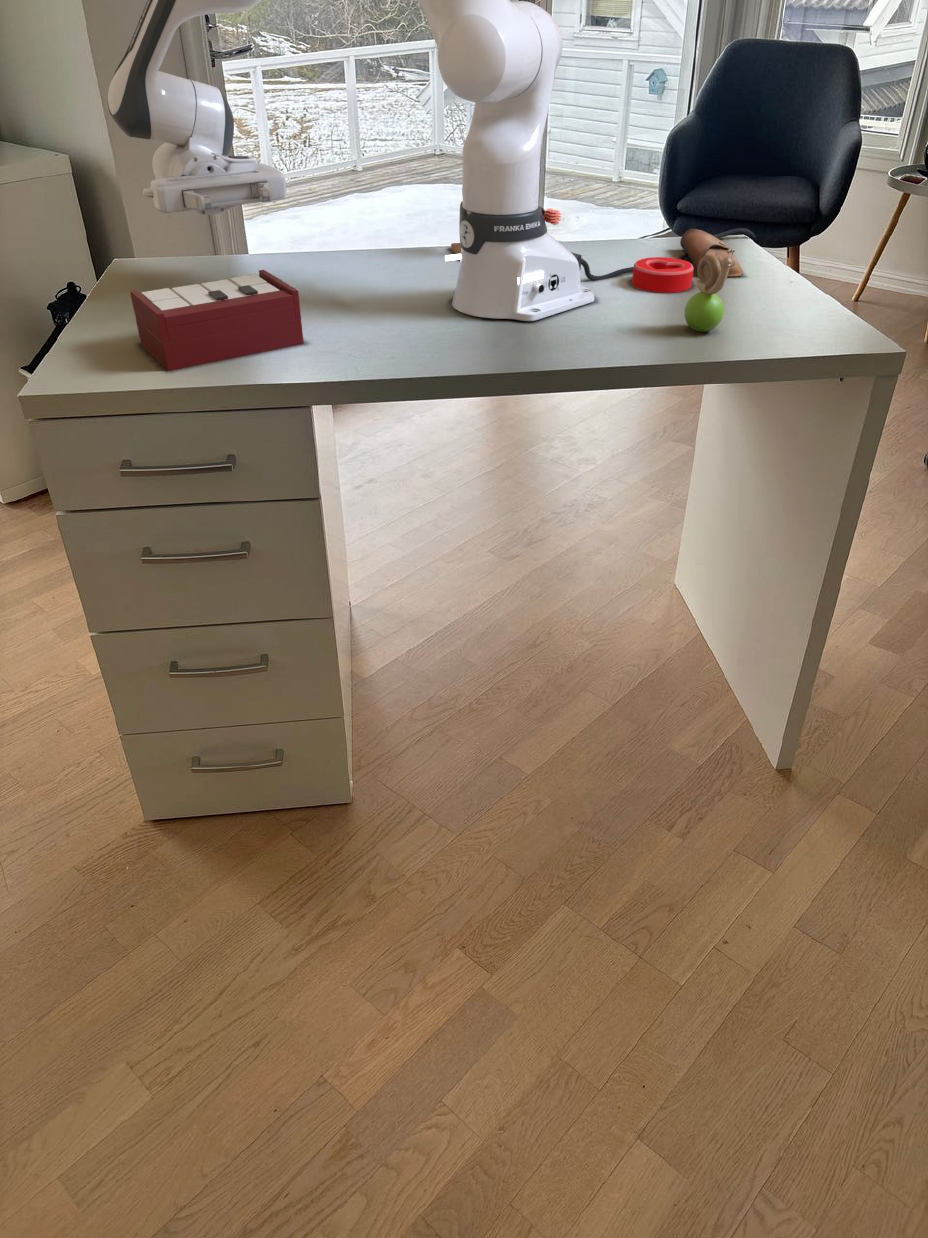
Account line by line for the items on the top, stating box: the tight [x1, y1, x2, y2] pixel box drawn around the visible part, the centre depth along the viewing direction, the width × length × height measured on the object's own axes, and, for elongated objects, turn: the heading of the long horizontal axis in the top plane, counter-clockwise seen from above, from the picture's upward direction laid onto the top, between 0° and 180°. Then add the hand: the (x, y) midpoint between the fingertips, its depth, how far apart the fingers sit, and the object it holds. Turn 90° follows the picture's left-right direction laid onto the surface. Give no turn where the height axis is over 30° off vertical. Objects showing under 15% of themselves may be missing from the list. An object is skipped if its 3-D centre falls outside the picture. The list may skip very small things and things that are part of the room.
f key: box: [140, 287, 179, 303], centre depth 126 cm, size 4×4×1 cm
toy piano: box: [129, 269, 305, 372], centre depth 127 cm, size 19×12×7 cm, turn 122°
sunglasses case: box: [679, 228, 744, 278], centre depth 162 cm, size 18×7×7 cm
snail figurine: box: [683, 248, 736, 333], centre depth 130 cm, size 5×6×12 cm
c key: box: [229, 273, 267, 287], centre depth 131 cm, size 4×4×1 cm
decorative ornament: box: [631, 256, 695, 294], centre depth 152 cm, size 10×10×3 cm
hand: (237, 199), depth 137 cm, fingers open, 8 cm apart
